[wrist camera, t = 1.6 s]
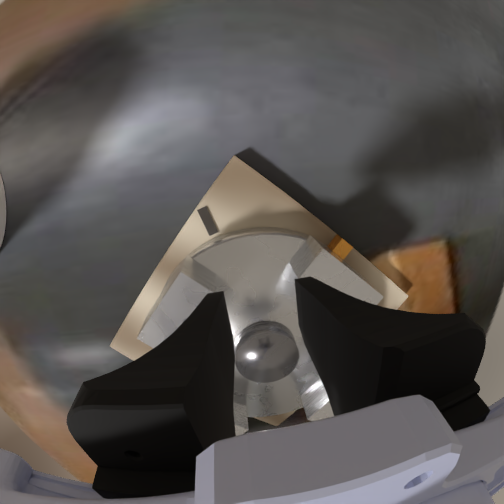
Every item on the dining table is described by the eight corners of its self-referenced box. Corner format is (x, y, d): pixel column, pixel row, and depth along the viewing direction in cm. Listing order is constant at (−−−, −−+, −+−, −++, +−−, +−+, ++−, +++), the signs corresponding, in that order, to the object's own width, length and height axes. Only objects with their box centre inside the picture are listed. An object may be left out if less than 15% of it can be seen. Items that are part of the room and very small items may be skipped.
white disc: (275, 419, 25) (282, 457, 20) (124, 346, 21) (107, 385, 17) (403, 291, 21) (433, 319, 17) (247, 165, 17) (254, 169, 13)
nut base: (275, 418, 26) (277, 427, 25) (113, 339, 22) (109, 347, 21) (402, 290, 23) (409, 296, 22) (233, 155, 18) (234, 155, 17)
